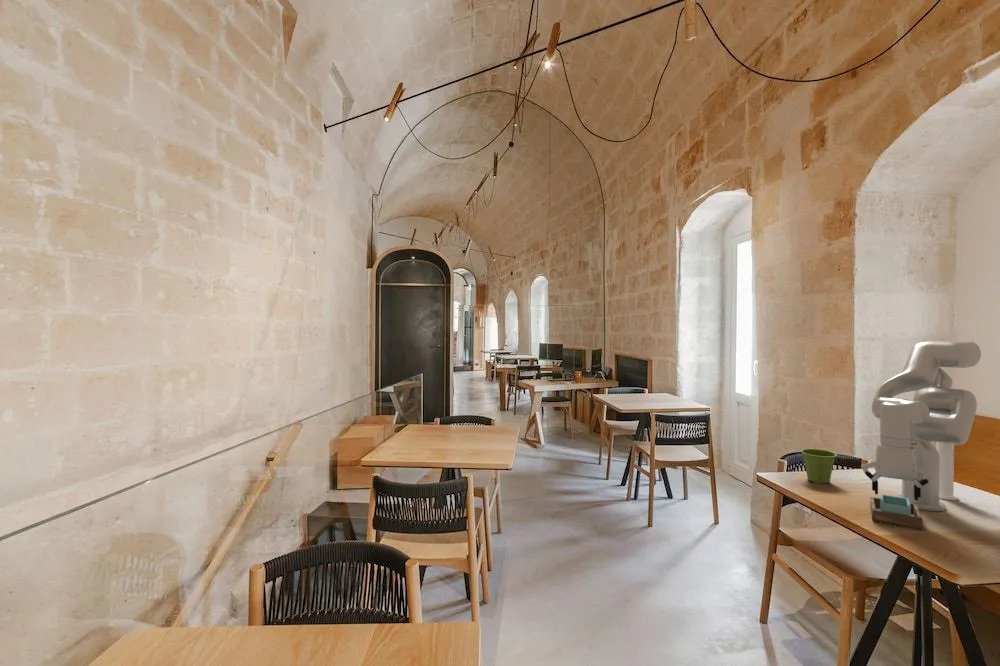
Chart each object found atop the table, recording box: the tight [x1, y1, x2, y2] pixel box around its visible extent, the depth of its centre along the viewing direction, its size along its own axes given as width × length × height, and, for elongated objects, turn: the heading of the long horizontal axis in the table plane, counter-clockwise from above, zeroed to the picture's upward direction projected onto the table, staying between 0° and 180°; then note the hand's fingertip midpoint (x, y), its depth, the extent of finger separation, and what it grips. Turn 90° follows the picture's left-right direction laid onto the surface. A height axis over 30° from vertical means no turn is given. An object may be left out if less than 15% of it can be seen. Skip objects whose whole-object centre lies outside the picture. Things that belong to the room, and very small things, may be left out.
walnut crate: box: [869, 496, 923, 531], centre depth 151 cm, size 15×12×4 cm
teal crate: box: [879, 493, 911, 516], centre depth 150 cm, size 10×7×5 cm
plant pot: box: [800, 448, 838, 485], centre depth 188 cm, size 12×12×11 cm
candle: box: [936, 442, 959, 501], centre depth 170 cm, size 7×7×25 cm
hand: (895, 496), depth 151 cm, fingers open, 9 cm apart
